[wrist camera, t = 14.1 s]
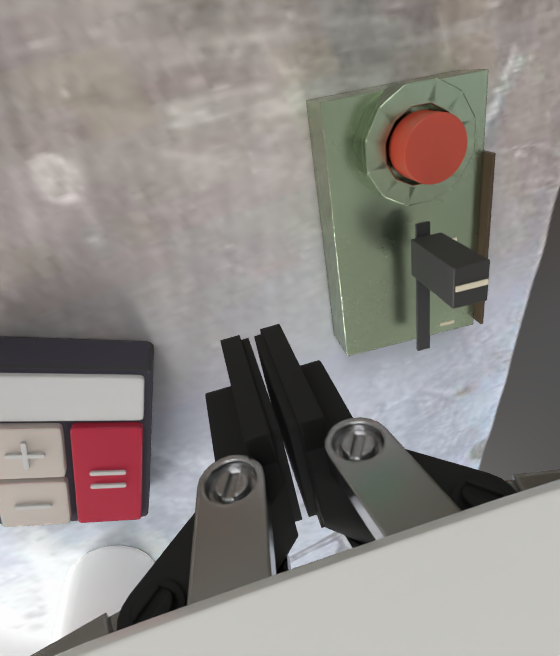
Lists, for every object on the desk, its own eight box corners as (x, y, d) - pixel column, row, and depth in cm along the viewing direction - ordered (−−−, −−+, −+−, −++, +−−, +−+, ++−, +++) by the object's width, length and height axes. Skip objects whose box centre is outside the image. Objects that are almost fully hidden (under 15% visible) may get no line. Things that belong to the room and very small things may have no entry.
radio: (334, 335, 36) (355, 370, 32) (305, 95, 27) (329, 98, 23) (451, 306, 37) (487, 335, 33) (458, 65, 28) (509, 62, 24)
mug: (164, 610, 48) (162, 730, 39) (82, 625, 47) (60, 753, 38) (154, 536, 43) (148, 655, 34) (59, 549, 41) (27, 679, 32)
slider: (411, 275, 28) (453, 310, 24) (410, 238, 27) (455, 268, 23) (440, 267, 29) (488, 301, 24) (441, 231, 27) (491, 260, 23)
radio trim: (392, 322, 36) (417, 351, 32) (385, 163, 30) (415, 175, 26) (459, 306, 36) (492, 331, 32) (466, 146, 30) (507, 155, 26)
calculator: (-6, 535, 34) (-43, 373, 27) (12, 488, 38) (-17, 334, 30) (147, 525, 37) (151, 376, 29) (150, 483, 40) (154, 340, 33)
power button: (389, 183, 26) (404, 191, 25) (386, 116, 25) (403, 119, 23) (447, 171, 27) (466, 177, 25) (448, 103, 25) (469, 105, 23)
